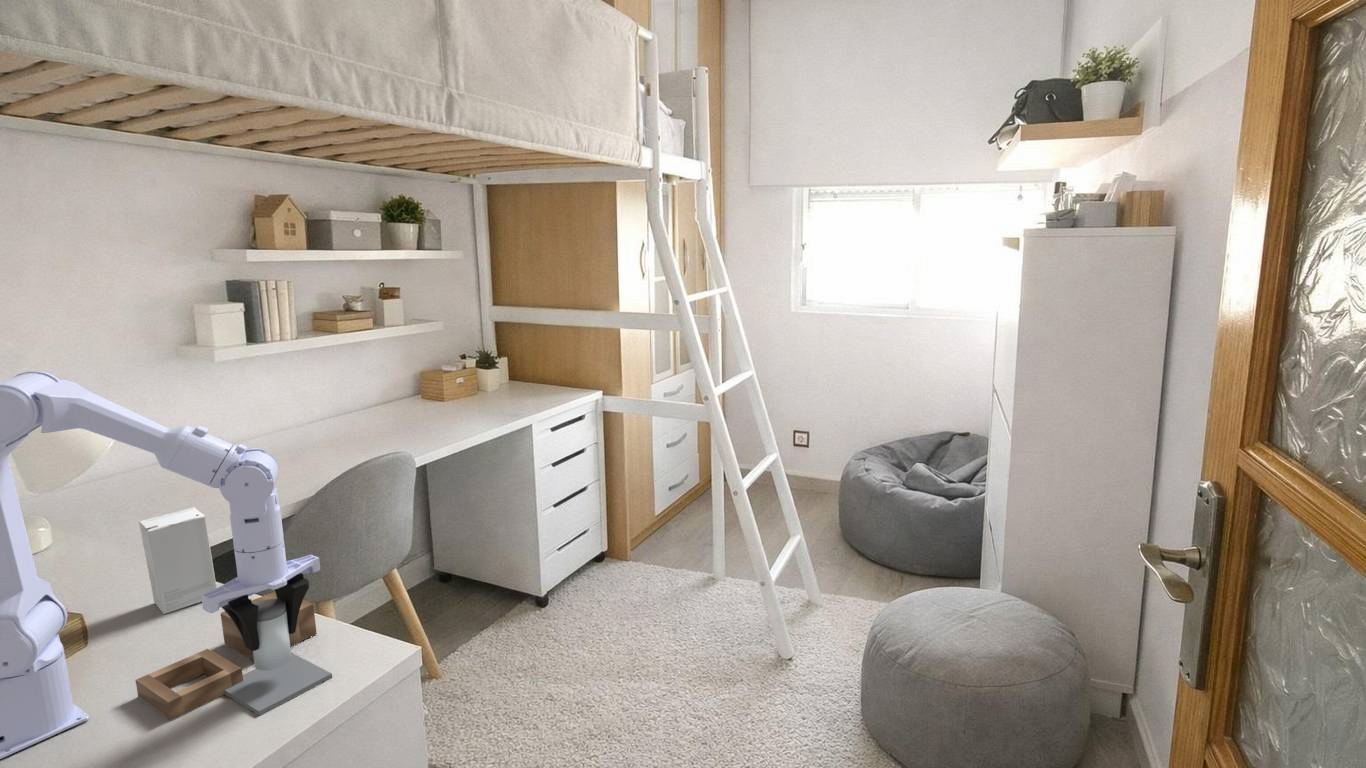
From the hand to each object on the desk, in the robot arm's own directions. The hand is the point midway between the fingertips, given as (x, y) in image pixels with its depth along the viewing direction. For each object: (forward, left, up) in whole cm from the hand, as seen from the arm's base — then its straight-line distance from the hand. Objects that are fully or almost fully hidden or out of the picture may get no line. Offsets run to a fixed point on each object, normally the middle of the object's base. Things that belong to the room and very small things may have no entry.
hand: (271, 639), depth 102 cm
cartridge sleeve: (-7, +8, -7) cm, 13 cm away
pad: (0, 0, -7) cm, 7 cm away
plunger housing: (+6, +12, -7) cm, 15 cm away
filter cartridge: (0, 0, -3) cm, 3 cm away
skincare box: (+5, +36, -7) cm, 37 cm away
